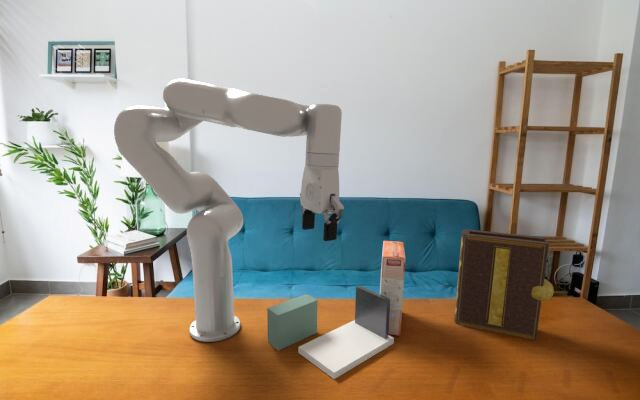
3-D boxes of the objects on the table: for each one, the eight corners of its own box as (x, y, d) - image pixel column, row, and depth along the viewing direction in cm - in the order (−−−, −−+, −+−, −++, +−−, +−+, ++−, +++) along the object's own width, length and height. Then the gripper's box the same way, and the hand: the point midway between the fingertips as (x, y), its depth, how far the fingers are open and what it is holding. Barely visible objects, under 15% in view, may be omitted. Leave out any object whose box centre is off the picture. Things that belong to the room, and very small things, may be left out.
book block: (267, 342, 88) (267, 308, 86) (306, 325, 95) (306, 293, 94) (278, 350, 84) (278, 315, 83) (317, 332, 92) (317, 300, 90)
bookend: (354, 322, 94) (355, 286, 92) (357, 321, 95) (359, 285, 93) (385, 339, 87) (387, 300, 85) (388, 337, 88) (390, 299, 86)
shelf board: (298, 352, 84) (298, 346, 83) (357, 323, 97) (357, 318, 96) (334, 379, 75) (334, 372, 74) (393, 343, 88) (393, 337, 87)
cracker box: (401, 337, 91) (406, 257, 87) (377, 334, 92) (380, 255, 88) (400, 310, 104) (404, 241, 100) (379, 308, 105) (382, 239, 101)
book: (453, 326, 96) (461, 235, 91) (454, 312, 104) (462, 227, 99) (549, 345, 88) (563, 246, 83) (543, 328, 96) (555, 237, 91)
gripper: (289, 157, 86) (287, 226, 89) (329, 165, 72) (324, 247, 75) (316, 157, 90) (313, 223, 93) (358, 165, 76) (353, 243, 79)
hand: (318, 234), depth 84 cm, fingers open, 9 cm apart
